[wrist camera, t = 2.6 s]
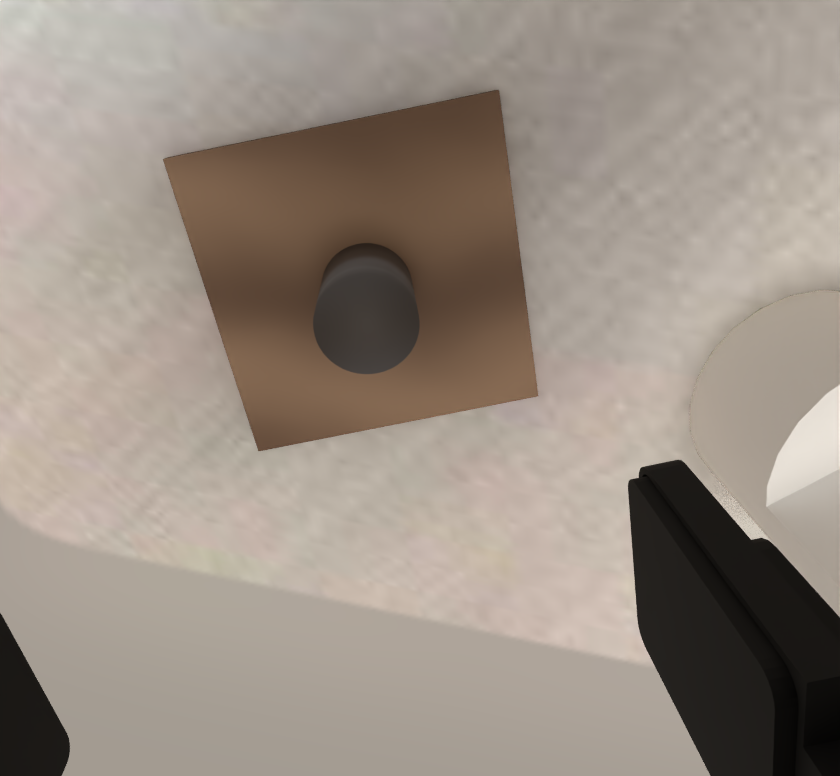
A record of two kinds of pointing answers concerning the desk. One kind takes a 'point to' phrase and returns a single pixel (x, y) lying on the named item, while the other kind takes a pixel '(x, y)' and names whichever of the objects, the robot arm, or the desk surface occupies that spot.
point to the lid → (363, 269)
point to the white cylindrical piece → (780, 429)
